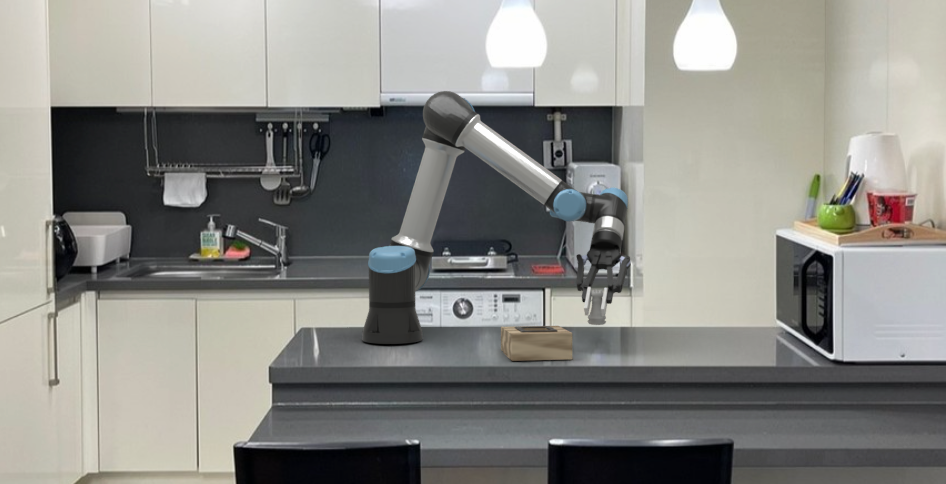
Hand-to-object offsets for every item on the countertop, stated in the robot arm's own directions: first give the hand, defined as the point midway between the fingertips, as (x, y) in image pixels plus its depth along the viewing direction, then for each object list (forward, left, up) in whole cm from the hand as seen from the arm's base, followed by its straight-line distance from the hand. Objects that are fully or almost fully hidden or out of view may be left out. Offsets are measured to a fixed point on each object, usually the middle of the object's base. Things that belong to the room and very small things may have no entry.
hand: (594, 312), depth 224 cm
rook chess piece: (-4, +2, -3) cm, 5 cm away
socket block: (-2, -13, -10) cm, 17 cm away
